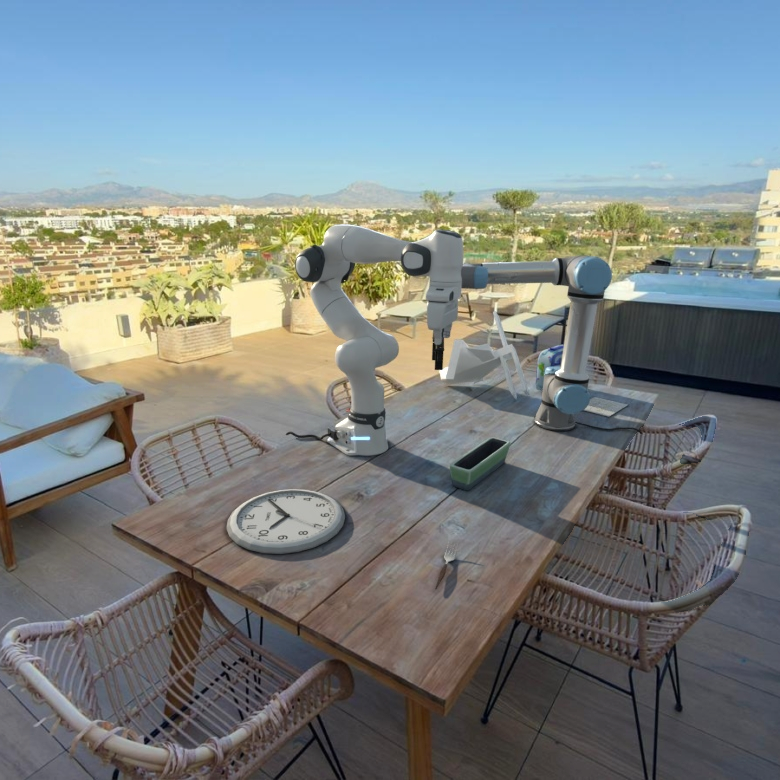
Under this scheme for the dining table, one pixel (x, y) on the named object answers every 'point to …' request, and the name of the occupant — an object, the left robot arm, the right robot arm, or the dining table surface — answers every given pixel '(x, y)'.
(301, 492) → the wall clock
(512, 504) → the dining table surface
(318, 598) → the dining table surface
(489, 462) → the planter
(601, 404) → the invitation card
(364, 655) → the dining table surface
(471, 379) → the white plastic object
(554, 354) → the lunch box
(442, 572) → the fork
